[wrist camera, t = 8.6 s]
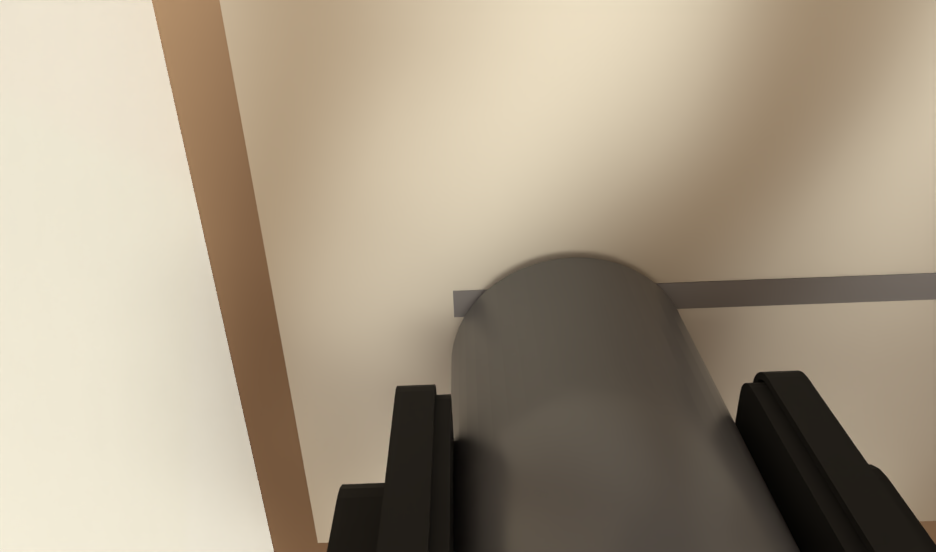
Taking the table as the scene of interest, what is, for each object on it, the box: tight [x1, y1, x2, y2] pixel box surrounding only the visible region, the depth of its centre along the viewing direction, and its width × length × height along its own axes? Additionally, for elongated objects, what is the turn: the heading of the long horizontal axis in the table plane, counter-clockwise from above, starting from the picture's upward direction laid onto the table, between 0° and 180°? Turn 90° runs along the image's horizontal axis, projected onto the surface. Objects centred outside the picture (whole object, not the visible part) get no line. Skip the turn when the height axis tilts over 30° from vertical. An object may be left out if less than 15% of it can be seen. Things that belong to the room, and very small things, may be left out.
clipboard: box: [152, 0, 936, 552], centre depth 12 cm, size 18×15×2 cm
